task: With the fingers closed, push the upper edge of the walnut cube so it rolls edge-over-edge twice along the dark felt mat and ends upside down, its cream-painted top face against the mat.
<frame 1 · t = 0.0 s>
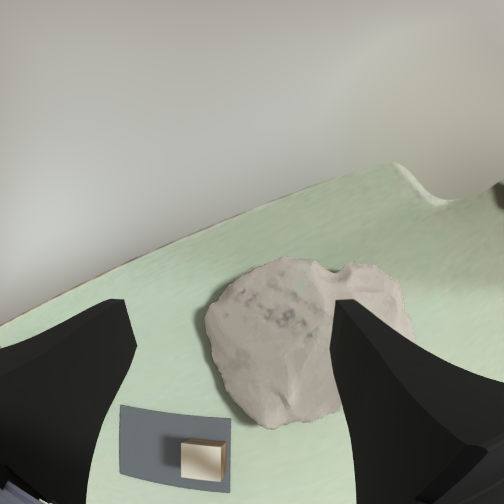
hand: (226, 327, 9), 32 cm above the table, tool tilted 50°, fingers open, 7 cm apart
rock: (315, 337, 41), on the table
mat: (171, 450, 33), on the table
cube: (208, 455, 32), resting on mat
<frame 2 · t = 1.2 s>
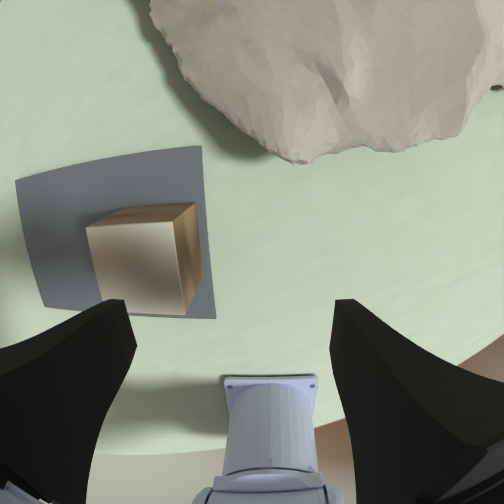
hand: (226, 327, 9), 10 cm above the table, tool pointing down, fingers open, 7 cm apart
mat: (99, 242, 19), on the table
cube: (163, 241, 19), resting on mat
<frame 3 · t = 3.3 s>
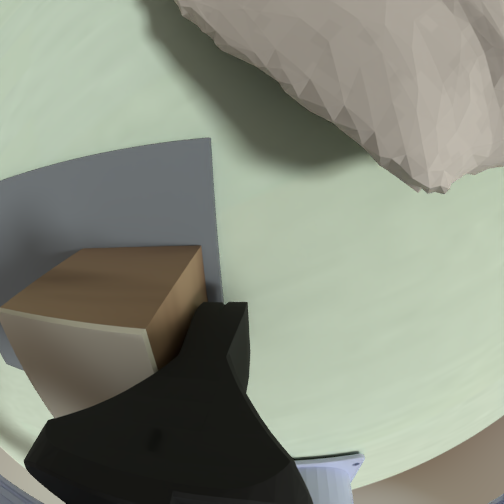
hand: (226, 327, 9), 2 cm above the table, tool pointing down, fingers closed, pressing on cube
mat: (53, 297, 11), on the table
cube: (147, 307, 11), resting on mat, touching gripper
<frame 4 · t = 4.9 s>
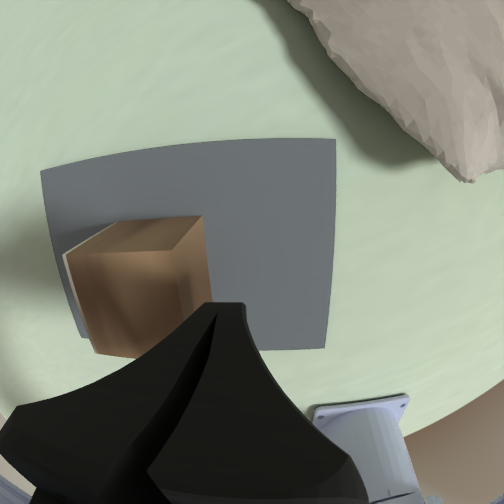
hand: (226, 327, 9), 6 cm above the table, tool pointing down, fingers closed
rock: (477, 6, 9), on the table
mat: (173, 258, 15), on the table
cube: (197, 283, 13), point 3 cm above the table, tilted 90°, touching mat
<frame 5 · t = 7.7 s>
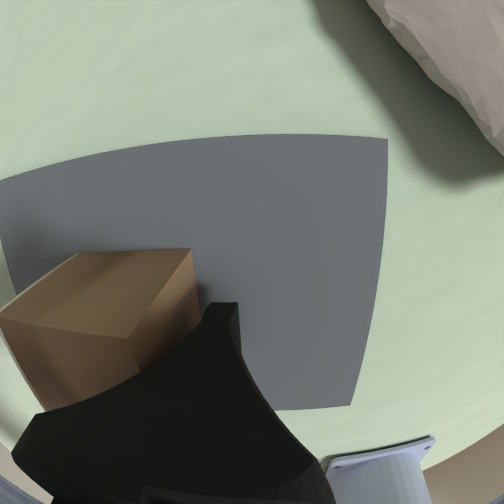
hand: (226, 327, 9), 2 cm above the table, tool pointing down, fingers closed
mat: (155, 303, 11), on the table
cube: (183, 355, 8), point 3 cm above the table, tilted 91°, touching gripper, mat
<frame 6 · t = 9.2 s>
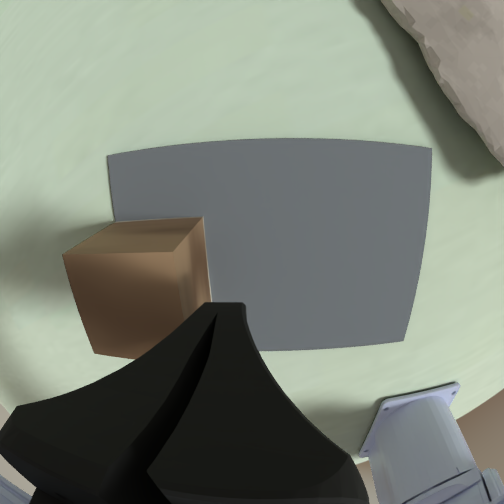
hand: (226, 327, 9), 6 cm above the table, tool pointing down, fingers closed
mat: (274, 257, 15), on the table
cube: (124, 312, 10), point 5 cm above the table, tilted 180°, touching mat
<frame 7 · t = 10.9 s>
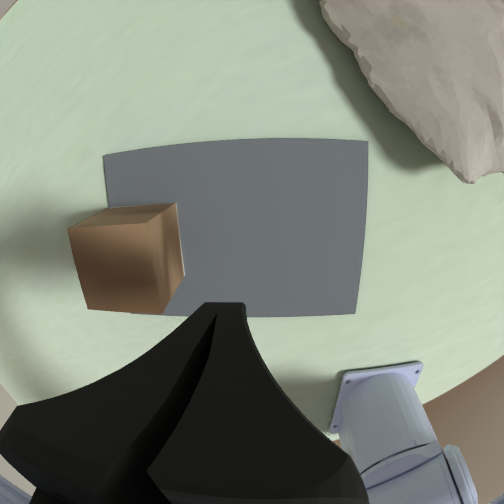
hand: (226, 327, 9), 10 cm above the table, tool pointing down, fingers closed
rock: (480, 33, 12), on the table
mat: (233, 235, 19), on the table
cube: (111, 271, 14), point 5 cm above the table, tilted 180°, touching mat
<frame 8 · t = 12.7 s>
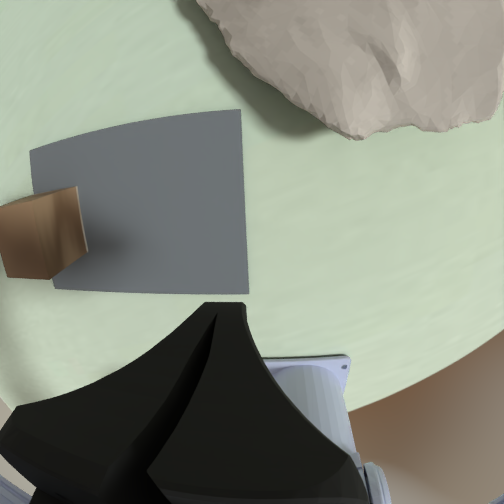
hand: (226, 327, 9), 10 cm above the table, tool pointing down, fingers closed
mat: (122, 212, 18), on the table
cube: (16, 243, 14), point 5 cm above the table, tilted 180°, touching mat
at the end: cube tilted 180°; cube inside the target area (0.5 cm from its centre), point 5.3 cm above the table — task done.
